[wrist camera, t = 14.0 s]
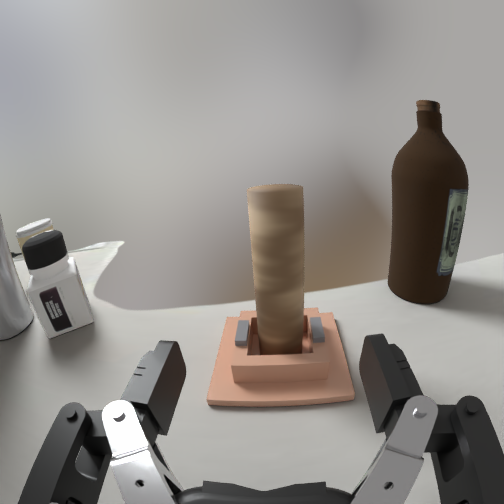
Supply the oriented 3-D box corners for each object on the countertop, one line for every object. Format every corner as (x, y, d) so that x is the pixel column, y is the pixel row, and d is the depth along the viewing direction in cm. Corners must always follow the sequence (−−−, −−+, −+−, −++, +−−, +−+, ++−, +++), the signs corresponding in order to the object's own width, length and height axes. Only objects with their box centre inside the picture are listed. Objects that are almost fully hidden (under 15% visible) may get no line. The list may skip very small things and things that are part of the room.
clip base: (208, 404, 20) (199, 377, 19) (227, 322, 31) (223, 296, 30) (353, 400, 19) (361, 371, 18) (331, 318, 30) (333, 291, 29)
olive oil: (369, 287, 35) (372, 95, 26) (404, 264, 40) (409, 107, 31) (434, 317, 27) (454, 94, 17) (459, 285, 32) (474, 111, 22)
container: (94, 322, 32) (64, 231, 27) (48, 340, 27) (11, 250, 23) (88, 300, 38) (64, 222, 33) (48, 315, 33) (21, 237, 28)
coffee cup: (70, 265, 53) (57, 214, 48) (58, 282, 44) (40, 225, 40) (40, 271, 50) (26, 224, 46) (25, 289, 42) (8, 235, 37)
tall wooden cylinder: (258, 366, 23) (244, 193, 18) (260, 339, 27) (249, 185, 21) (303, 365, 23) (306, 191, 17) (300, 337, 26) (300, 183, 21)
